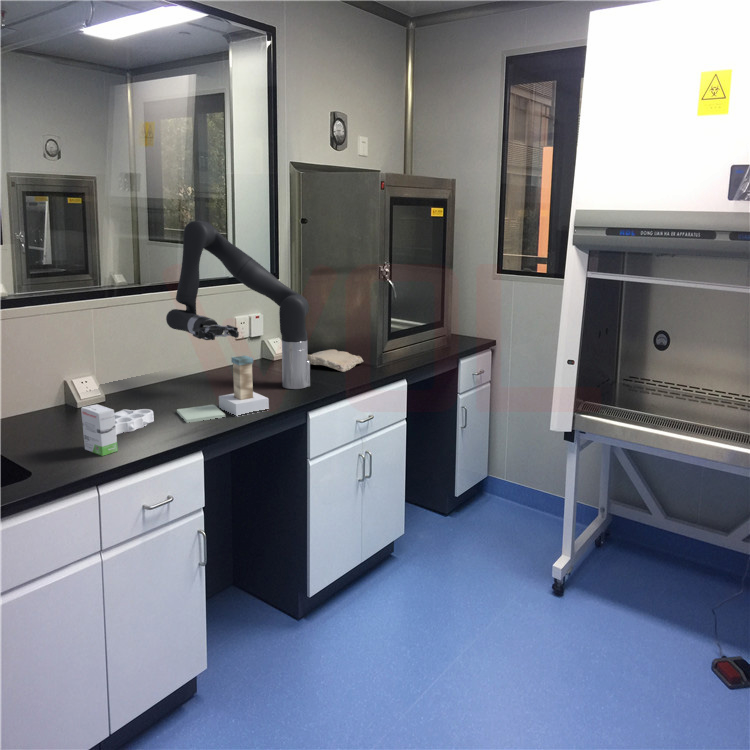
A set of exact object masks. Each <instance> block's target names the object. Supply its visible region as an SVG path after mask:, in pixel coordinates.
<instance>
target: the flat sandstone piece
mask: <svg viewBox="0 0 750 750" xmlns="http://www.w3.org/2000/svg"><path fill="white" fill-rule="evenodd" d="M308 360H309V361H310V365H314V366H325V367H328V368H331V369H334V370H337V371H339V372H343V373H345V372H347V371H349V370H351V369H352V368H355V366H356V365H358V364H361V363H364V360H363V358H362V356H360V355H355V354H352V353H349V351H343V350H342V351H340V350H337V349H326V350H322V351H321V350H320V351H317V352H313V353H311V354H308Z"/></svg>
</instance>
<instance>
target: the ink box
mask: <svg viewBox="0 0 750 750" xmlns="http://www.w3.org/2000/svg"><path fill="white" fill-rule="evenodd" d="M80 410H81V412H80V413H81V422H82V423H81V424H82V432H83V441H84V442H83V443H84V450H85V451H89V452H90V453H93V454H96V455H98V456H102V457H103V456H107V455H110V454H113V453H116V452H118V451H119V447H118V437H117V435H116V426H115V416H114V413H115V409H112V408H109V407H106V406H104V405H100V404H99V403H98V404H97V403H96V404H91V405H87V406H82V407H81V408H80Z"/></svg>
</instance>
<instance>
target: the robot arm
mask: <svg viewBox="0 0 750 750" xmlns="http://www.w3.org/2000/svg"><path fill="white" fill-rule="evenodd" d="M182 243H183V245H182V258H181V259H182V261H181V268H180V275H179V279H178V286H177V290H176V294H175V295H176V296H175V301H176V302H177V303H178V304H181V305H184V306H185V308H186V309H177V308H173V309H171V310H169V311H168V313H167V314H166V316H165V317H166V318H165V320H166V321H165V322H166V323H167V325H168V327H169V328H171V329H173V330H178V331H183V332H187V333H189V334H190V335H191V334H192V336H193V337H194V338H197V339H199V340H201V339H202V340H204V341H215V339H216V338H218V337H224V338H226V337H228V336H229V337H232V338H235V339H237V338H239V336H240V332H239V331H238V330H239V327H237V326H233V325H230V324H227V325H226V326H225V325H220V324H218V322H217V321H216V320H215V319H213V318H210V317H207V316H204V315H200V314H197V296H198V292H199V288H200V262H201V257H202V255H203V251H204V250H205V251H207V252H208V253H210V254H211V255H213V256H215V258H217V259H218V260H219V261H220V262H221V263H222V265H223V266H224V268H226V270H227V271H228V272H229V273H230V274H231V276H233V277H234V278H235V279H236V280H237V281H239V282H240V283H241V284H243V285H244V286H245V287H246V288H249V289H250V290H251V291H254V292H256V293H258V294H260V295H263V296H265V297H267V298H268V299H270V300H271V301H272V302H273V303H275V304H276V305H277V306H278V307H279V312H278V313H279V315H278V316H279V317H278V318H279V331H280V335H281V364H282V365H281V367H282V368H281V369H282V370H281V372H282V374H281V375H282V377H281V378H282V379H281V381H282V387H283V388H285V389H290V390H300V389H304V388H305V389H306V388H308V387H311V364H310V361H309V360H308V355H309V354H308V348H309V347H308V332H307V329H306V325H307V324H306V316H307V315H308V313H309V311H310V306H309V305H310V304H309V302H308V300H307V299H306V298H305V297H304V296H303V295H301V294H300V293H298V292H296V291H295V290H293V289H292V288H291V287H289V286H287V285H286V284H284V283H282V282H281V280H279V279H278V278H277V277H276V276H274V275H273V274H272V273H271V272H270V271H269V270H268V269H267V268H265V267H264V266H263V265H261V263H259V262H258V261H256V260H255V259H254V258H253V257H252V256H250V255H249V254H247V253H246V252H245V251H243V250H242V249H241V248H239V247H237V246H236V245H234V244H233V243H231V242H230V241H229V240H228V239H226V237H225V236H223V234H221V233H220V231H218V229H216V228H215V227H214V226H213V225H212V224H211V223H210V222H208V221H205V220H193V221H190V222H188V223H187V224H186V225H185V226H184V230H183V241H182Z"/></svg>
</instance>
